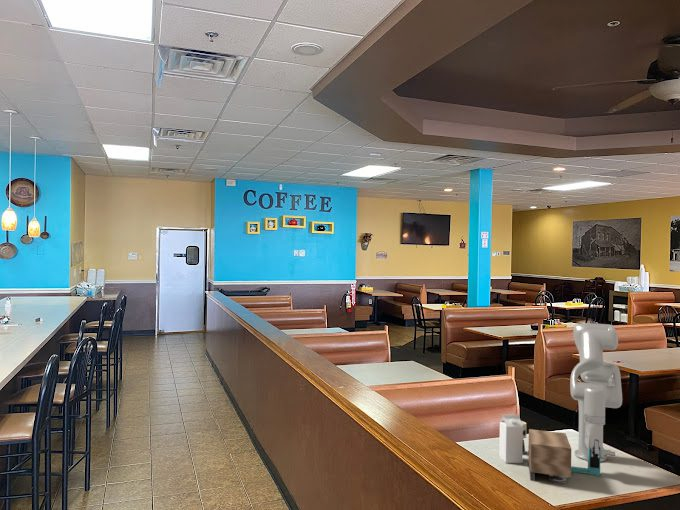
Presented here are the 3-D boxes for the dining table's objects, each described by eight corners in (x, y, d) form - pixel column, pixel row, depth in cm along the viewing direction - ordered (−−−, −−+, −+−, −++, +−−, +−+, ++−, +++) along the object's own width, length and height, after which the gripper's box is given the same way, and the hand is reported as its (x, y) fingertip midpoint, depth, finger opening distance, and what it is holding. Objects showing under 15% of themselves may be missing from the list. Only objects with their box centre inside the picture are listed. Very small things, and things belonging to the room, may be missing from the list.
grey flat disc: (557, 475, 201) (556, 472, 201) (569, 480, 196) (569, 477, 196) (545, 478, 199) (545, 475, 199) (558, 484, 193) (558, 480, 193)
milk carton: (499, 457, 220) (499, 412, 221) (515, 457, 221) (515, 412, 221) (505, 463, 213) (506, 416, 214) (522, 463, 214) (523, 416, 214)
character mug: (525, 457, 221) (525, 426, 221) (507, 454, 224) (508, 424, 224) (526, 449, 231) (527, 420, 232) (510, 447, 234) (510, 418, 234)
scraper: (596, 468, 211) (596, 443, 211) (602, 480, 197) (603, 454, 198) (547, 461, 216) (547, 437, 216) (550, 474, 203) (550, 448, 203)
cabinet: (565, 468, 209) (565, 433, 210) (570, 487, 190) (571, 448, 191) (528, 463, 214) (528, 429, 214) (530, 481, 195) (531, 443, 195)
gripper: (580, 412, 214) (580, 457, 213) (587, 423, 199) (586, 472, 198) (600, 414, 212) (600, 460, 211) (609, 425, 196) (608, 474, 196)
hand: (593, 465), depth 205 cm, fingers closed on scraper, 3 cm apart
